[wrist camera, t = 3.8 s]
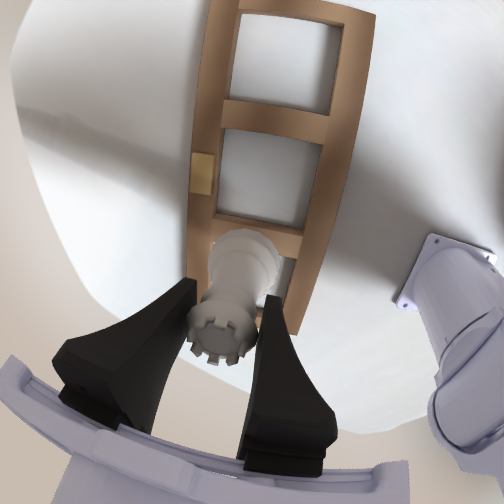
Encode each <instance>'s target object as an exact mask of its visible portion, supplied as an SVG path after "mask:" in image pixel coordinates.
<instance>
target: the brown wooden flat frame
mask: <svg viewBox="0 0 504 504" xmlns="http://www.w3.org/2000/svg"><path fill="white" fill-rule="evenodd" d="M242 14H259V15H270V16H279V17H287V18H294V19H301V20H307V21H312V22H318V23H323V24H327V25H332V26H336V27H340V28H342V33H341V40H340V47H339V54H338V60H337V66H336V72H335V78H334V84H333V90H332V96H331V101H330V107H329V112H328V116H325V115H321V114H317V113H312V112H307V111H302V110H297V109H292V108H286V107H280V106H274V105H268V104H261V103H253V102H245V101H237V100H228V99H229V92H230V85H231V77H232V71H233V64H234V57H235V51H236V44H237V38H238V32H239V26H240V20H241V15H242ZM375 20H376V15H375V14H372V13H369V12H365V11H362V10H359V9H355V8H351V7H348V6H344V5H339V4H335V3H331V2H326V1H321V0H211V3H210V8H209V14H208V19H207V25H206V30H205V36H204V43H203V49H202V56H201V63H200V70H199V77H198V85H197V94H196V102H195V112H194V122H193V133H192V145H191V158H190V173H189V192H188V216H187V278H192V279H196V280H197V305H198V304H200V300H201V297H202V296H203V295H204V293H205V292H206V291H207V290H209V289H210V287H211V279H210V276H209V272H208V260H209V254H210V252H211V251H212V247H213V245H214V242H216V241H217V240H218V238H219V237H220V236H222V235H223V234H225V233H227V232H229V231H230V230H237V229H249V230H253V231H257V232H260V233H261V234H263V235H264V236H265V237H267V238H268V239H270V240H271V241H272V243H273V244H274V246H275V248H276V249H277V251H278V253H279V255H280V256H285V257H290V258H295V263H294V267H293V271H292V274H291V278H290V282H289V285H288V289H287V293H286V296H285V300H284V304H283V307H282V308H283V314H284V318H285V322H286V326H287V329H288V333H289V334H290V335H296V336H297V334H298V331H299V328H300V326H301V323H302V320H303V317H304V315H305V312H306V309H307V306H308V303H309V301H310V298H311V295H312V292H313V289H314V286H315V283H316V280H317V277H318V274H319V271H320V268H321V265H322V261H323V258H324V255H325V252H326V249H327V245H328V242H329V239H330V235H331V232H332V229H333V225H334V222H335V218H336V215H337V211H338V207H339V204H340V200H341V196H342V193H343V189H344V185H345V181H346V177H347V173H348V169H349V165H350V161H351V157H352V152H353V148H354V144H355V139H356V135H357V130H358V125H359V121H360V116H361V111H362V106H363V100H364V95H365V89H366V84H367V78H368V72H369V65H370V59H371V52H372V45H373V37H374V29H375ZM225 128H230V129H238V130H245V131H252V132H259V133H265V134H271V135H277V136H283V137H288V138H293V139H298V140H303V141H308V142H313V143H317V144H322V147H321V152H320V157H319V162H318V166H317V171H316V176H315V180H314V185H313V189H312V193H311V198H310V202H309V206H308V211H307V215H306V219H305V223H304V227H303V230H302V229H297V228H292V227H287V226H282V225H277V224H272V223H267V222H262V221H257V220H252V219H246V218H241V217H236V216H231V215H225V214H220V213H216V209H217V198H218V187H219V177H220V167H221V158H222V149H223V140H224V131H225ZM263 310H264V309H260V308H257V313H258V314H257V317H256V321H255V323H256V325H257V328H259V329H260V324H261V319H262V315H263Z"/></svg>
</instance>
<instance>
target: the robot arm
mask: <svg viewBox="0 0 504 504" xmlns="http://www.w3.org/2000/svg"><path fill="white" fill-rule="evenodd" d="M436 239H438V241H437V242H435V240H436ZM496 259H497V256H496V255H495V254H494V253H491V252H488V251H486V250H483V249H480V248H477V247H474V246H471V245H468V244H465V243H462V242H459V241H456V240H453V239H450V238H447V237H443V236H440V235H437V234H434V233H431V234H429V235H428V236H427V238H426V240H425V243H424V245H423V247H422V250H421V252H420V254H419V257H418V259H417V261H416V263H415V265H414V267H413V269H412V272H411V274H410V276H409V278H408V280H407V282H406V284H405V286H404V288H403V290H402V292H401V293H400V295H399V297H398V299H397V301H396V307H397V308H399V309H405V310H412V311H418V312H419V313H420V315H421V318H422V320H423V323H424V325H425V328H426V331H427V333H428V336H429V339H430V342H431V344H432V347H433V350H434V353H435V356H436V359H437V362H438V365H439V371H438V372H437V374H436V375H435V376H434V378H435V382H436V385H437V389H436V390H435V391H434V392H433V393H432V395H431V397H430V399H429V402H428V411H427V414H428V421H429V425H430V428H431V431H432V433H433V435H434V437H435V438H436V440H437V441H438V442H439V443H440V444H441V445H442V446H443V447H444V448H445V449H447V450H448V451H449V452H450V453H451V454H452V455H453V457H454V458H455V460H456V461H457V463H458V465H459V468H460V470H461V471H463V472H468V473H473V474H481V475H489V476H494V477H496V478H497V481H498V483H499V486H500V488H501V490H502V493H503V496H504V426H502V427H500V426H501V425H502V424H504V278H503V277H502V275H501V274H500V273H499V272H498V270H497V269H496V268H495V267H494V264H495V262H496ZM404 304H405V305H404ZM195 305H197V280H196V279H192V278H187V277H185V278H183V279H182V280H181V281H179V282H178V283H177V284H176V285H174V286H173V287H172V288H171V289H169V290H168V291H167V292H166V293H164V294H163V295H162V296H160V297H159V298H158V299H156V300H155V301H154V302H152V303H151V304H149V305H148V306H146V307H145V308H143V309H142V310H140V311H139V312H137V313H135V314H134V315H132V316H130V317H128V318H127V319H125V320H123V321H121V322H119V323H116V324H114V325H112V326H110V327H107V328H105V329H102V330H100V331H97V332H94V333H91V334H88V335H85V336H81V337H77V338H73V339H68V340H66V342H65V343H64V344H63V345H62V347H61V348H60V349H59V351H58V352H57V354H56V355H55V356H54V358H53V359H52V364H53V367H54V369H55V371H56V372H57V374H58V375H59V377H60V378H61V379H62V381H63V382H64V384H65V386H64V387H63V389H62V390H61V392H59V391H57V390H56V389H54V388H52V387H51V386H49V385H48V384H46V383H45V382H43V381H41V380H40V379H39V378H37V377H35V376H34V375H33V374H32V372H31V371H30V369H29V368H28V367H27V366H26V365H25V364H24V363H23V362H22V361H20V360H19V359H18V358H16V357H15V356H14V355H11V356H10V357H9V358H8V360H7V361H6V362H5V364H4V365H3V367H2V368H1V369H0V400H1V401H2V402H3V403H4V404H5V405H6V406H7V407H8V408H9V409H10V410H11V411H12V412H13V413H14V414H15V415H17V416H18V417H19V418H20V419H21V420H23V421H24V422H25V423H27V424H28V425H29V426H30V427H32V428H33V429H34V430H35V431H37V432H38V433H39V434H41V435H42V436H43V437H45V438H46V439H48V440H49V441H50V442H52V443H53V444H55V445H56V446H58V447H59V448H61V449H62V450H64V451H65V452H67V453H69V454H70V455H72V457H71V460H70V462H69V464H68V466H67V468H66V470H65V472H64V475H63V477H62V479H61V481H60V484H59V486H58V488H57V490H56V493H55V495H54V497H53V500H52V502H51V504H410V490H409V489H410V487H409V469H408V461H407V460H402V461H393V462H385V463H381V464H378V465H376V466H375V467H374V468H367V469H323V459H324V458H325V457H326V448H328V447H329V446H330V445H331V444H332V443H333V442H335V441H336V439H337V435H338V429H337V422H336V417H335V413H334V411H333V410H332V409H331V408H330V407H329V405H328V404H327V403H326V402H325V400H324V399H323V398H322V397H321V395H320V394H319V392H318V391H317V390H316V388H315V387H314V385H313V383H312V382H311V380H310V379H309V377H308V375H307V374H306V372H305V370H304V368H303V366H302V364H301V362H300V360H299V358H298V356H297V354H296V352H295V349H294V347H293V344H292V341H291V339H290V336H289V333H288V329H287V326H286V322H285V318H284V314H283V308H282V299H281V298H280V297H278V296H273V295H268V294H267V296H266V300H265V305H264V310H263V315H262V319H261V324H260V329H259V336H258V339H257V344H256V353H255V363H254V373H253V382H252V389H251V394H250V399H249V403H248V408H247V413H246V417H245V422H244V426H243V430H242V435H241V439H240V443H239V448H238V452H237V456H236V459H232V458H228V457H223V456H218V455H214V454H210V453H206V452H202V451H198V450H195V449H191V448H188V447H184V446H181V445H178V444H174V443H171V442H168V441H165V440H162V439H159V438H157V437H154V436H151V431H152V427H153V423H154V419H155V415H156V412H157V409H158V405H159V402H160V399H161V396H162V393H163V390H164V387H165V384H166V381H167V378H168V375H169V373H170V370H171V367H172V365H173V363H174V361H175V359H176V357H177V355H178V353H179V351H180V349H181V347H182V345H183V343H184V341H185V339H186V337H187V333H188V331H187V329H186V326H185V324H186V315H187V314H188V312H189V311H190V310H191V308H192V307H193V306H195ZM498 427H500V428H498ZM497 428H498V429H497ZM210 471H211V472H210ZM213 472H215V473H213ZM216 473H219V474H216ZM220 474H224V475H229V476H234V477H237V478H236V479H235V478H231V477H227V476H223V475H220Z"/></svg>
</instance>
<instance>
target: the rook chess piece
mask: <svg viewBox="0 0 504 504" xmlns="http://www.w3.org/2000/svg"><path fill="white" fill-rule="evenodd" d="M279 267H280V259H279V253H278V251H277V249H276V248H275V246H274V244H273V243H272V241H271V240H270V239H268V238H267V237H265V236H264V235H263V234H261V233H260V232H257V231H253V230H249V229H237V230H230V231H229V232H227V233H225V234H223V235H222V236H220V237H219V238H218V240H217V241H216V242H215V244H214V245H213V247H212V251H211V252H210V254H209V260H208V272H209V276H210V279H211V282H212V283H211V287H210V289H209V290H207V291H206V292H205V293H204V295H203V296H202V297H201V300H200V304H198V305H195V306H193V307H192V308H191V310H190V311H189V312H188V314H187V315H186V324H185V326H186V329H187V331H188V333H187V342H192V343H193V345H192V347H191V349H190V350H191V351H192V352H193V353H194V354H195V356H196V357H199V356H200V355H201V354H202V352H204V353H206V354H207V355H209V358H208V361H207V363H209V364H212V365H216V366H218V363H219V360H220V359H226V363H227V365H228V366H231V365H234V364H237V363H238V360H239V356H241V357H243V358H244V357H245V353H247V352H248V351H250V350H251V349H252V348H253V347H254V346H255V345H256V342H257V339H258V336H259V334H258V329H257V325H256V323H255V321H256V317H257V314H258V313H257V308H256V302H257V300H258V298H260V297H261V296H262V295H265V294H266V293H267V292H268V290H269V289H270V288H271V287H272V286H273V285H274V284H275V281H276V278H277V275H278V271H279Z"/></svg>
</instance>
